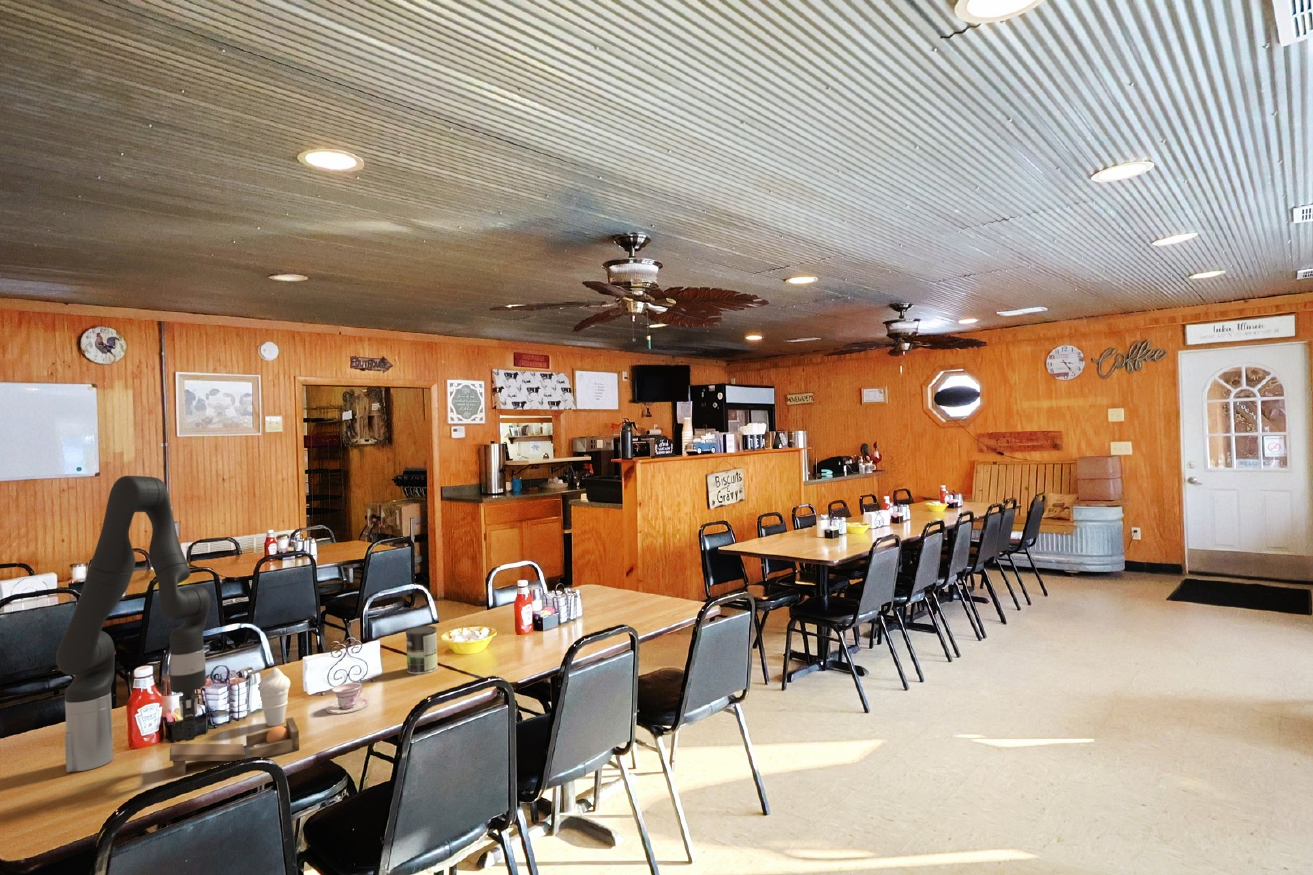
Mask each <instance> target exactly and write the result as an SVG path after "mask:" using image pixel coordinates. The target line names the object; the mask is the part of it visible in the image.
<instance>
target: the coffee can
mask: <svg viewBox="0 0 1313 875" xmlns="http://www.w3.org/2000/svg"><path fill="white" fill-rule="evenodd" d="M437 630H438V629H437V627H436V626H432V625H422V626H415V627H411V628H409V629H407V630H405V639H406V660H407V661H406V665H407V667H406V668H407V673H408V674H409V673H410V675H424V674H425V673H426V674H429V672H430V673H432V672H435V671H437V670H438V669H439V667H438V646H437V645H438V642H437V638H438V637H437Z"/></svg>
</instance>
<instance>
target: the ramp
mask: <svg viewBox="0 0 1313 875" xmlns="http://www.w3.org/2000/svg"><path fill="white" fill-rule="evenodd" d="M244 746H245V745H244V744H243V743H242V744H241V743H238V744H237V743H171V745H170V748H169V762H172V765H173V778H176V777H180V776H181V777H182V776H186V773H187V772H186V762H200V761H201V762H204V761H205V762H213V761H214V762H215V761H217V762H218V761H219V762H222V761H223V762H225V761H226V762H229V761H232V762H233V761H234V762H235V761H236V762H238V761H237V760H240V759H243V758H244V759H246V758H245V751H244Z"/></svg>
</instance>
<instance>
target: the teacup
mask: <svg viewBox="0 0 1313 875" xmlns="http://www.w3.org/2000/svg"><path fill="white" fill-rule="evenodd" d="M363 686H364V685H363V684H362V683H361V682H349V683H343V684H341V685H337V686H335V687H333V688H332V689H331V691H332V692H333V693H334V694H335V697H336V698H337V701H336V702H333V703H331V704H329V705H328V706H327V707H326V708H325V711H326V713H328V714H332V715H342V714H343V715H344V714H350V713H354V712H358V711H361V710H362V709H365V708H366V707H368V706H369V704H370V702H369V700H368V699H366V698H360V697H361V695H362V692H363ZM357 702H365V705H364V704H362V705H361V704H360V703H359V704H356V703H357ZM334 706H336V707H334ZM338 706H341V707H340V708H341V709H340V708H338ZM353 706H354V707H356V706H363V707H362V708H358V709H355V708H354V707H353ZM349 708H350V709H349ZM352 708H353V709H352ZM330 710H353V711H348V712H340V713H337V712H332V711H330ZM357 710H358V711H357Z"/></svg>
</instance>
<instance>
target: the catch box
mask: <svg viewBox="0 0 1313 875" xmlns="http://www.w3.org/2000/svg"><path fill="white" fill-rule="evenodd" d="M285 720H286V721H285V722H286V723H285V724H286V726H283V727H284V728H286V730H287V731H288V738H287V740H283V741H279V742H275V743H270V744H268V742H267V734H268V732H269V731H270V730H271V729H266V730H263V731H257V732H254V733H250V734H249V733H248V734H246V735H245V741H246V742H245V743H246V744H245V745H243V746H244V751H245V758H244V759H246V758H251V757H264V759H269V758H272V757H276V756H280V755H285V754H289V753H292V752H297V751H300V730H299V729H298V726H297V723H296V721H295V720H294V717H293V716H291V717H287V718H285Z"/></svg>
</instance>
